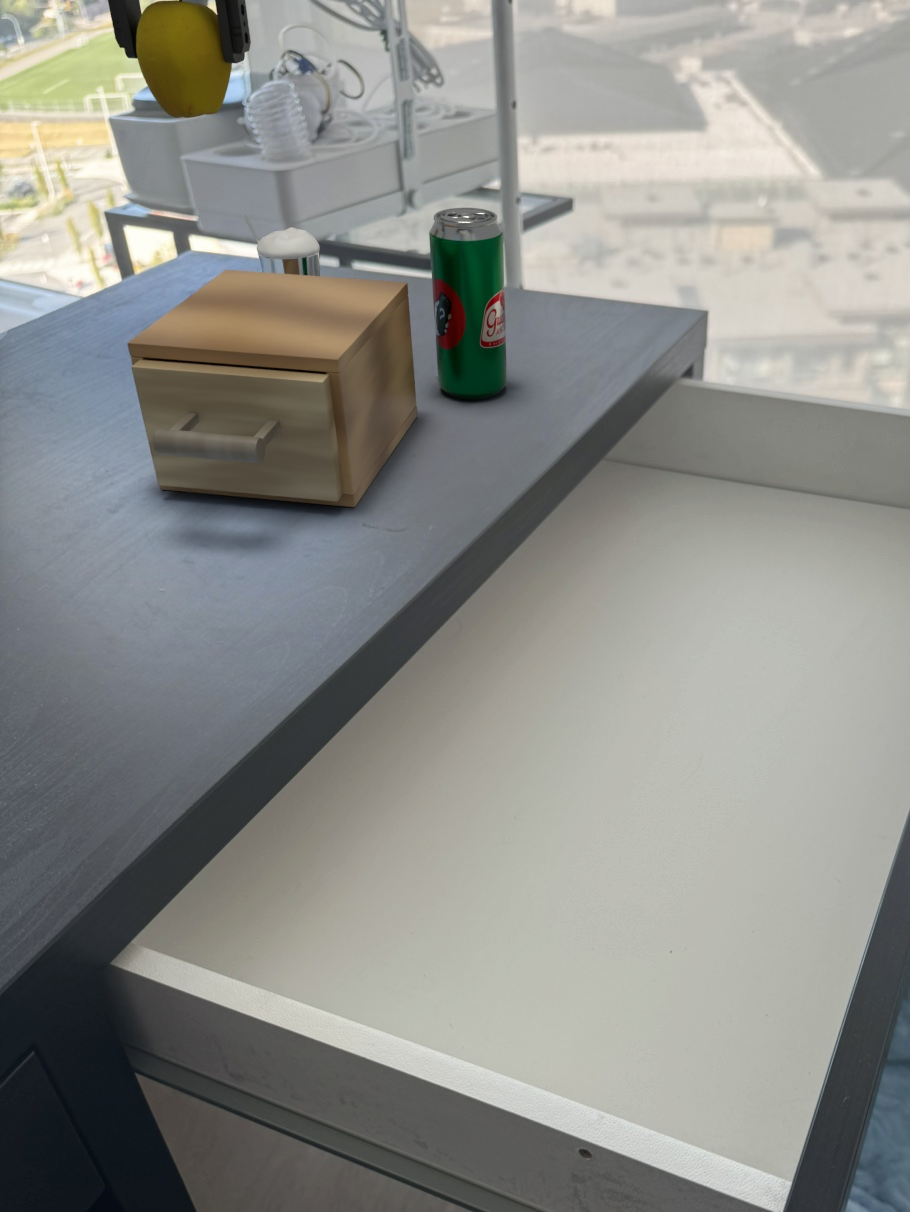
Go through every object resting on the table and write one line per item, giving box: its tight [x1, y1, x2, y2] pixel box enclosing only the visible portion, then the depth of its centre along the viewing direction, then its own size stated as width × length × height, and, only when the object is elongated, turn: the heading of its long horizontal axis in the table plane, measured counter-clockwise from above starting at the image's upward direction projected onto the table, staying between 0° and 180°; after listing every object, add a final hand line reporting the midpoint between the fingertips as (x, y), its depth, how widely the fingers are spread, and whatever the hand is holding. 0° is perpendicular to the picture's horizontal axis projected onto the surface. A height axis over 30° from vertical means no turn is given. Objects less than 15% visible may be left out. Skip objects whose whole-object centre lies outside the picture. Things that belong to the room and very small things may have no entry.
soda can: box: [428, 207, 508, 401], centre depth 83 cm, size 5×5×12 cm
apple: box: [136, 0, 233, 119], centre depth 81 cm, size 6×6×8 cm
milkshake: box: [243, 214, 321, 276], centre depth 88 cm, size 4×5×10 cm
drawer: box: [130, 359, 343, 501], centre depth 72 cm, size 18×11×7 cm, turn 171°
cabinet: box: [126, 269, 418, 508], centre depth 75 cm, size 15×13×9 cm
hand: (185, 58), depth 81 cm, fingers closed on apple, 6 cm apart
